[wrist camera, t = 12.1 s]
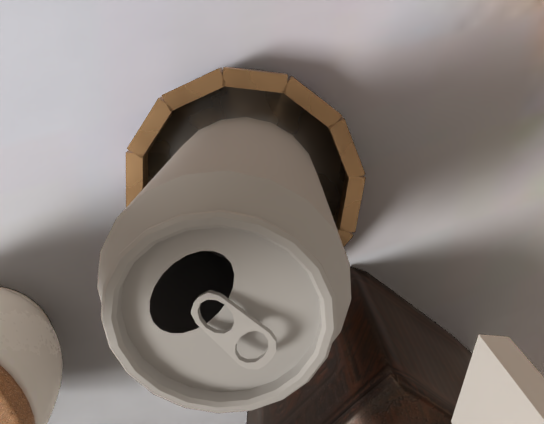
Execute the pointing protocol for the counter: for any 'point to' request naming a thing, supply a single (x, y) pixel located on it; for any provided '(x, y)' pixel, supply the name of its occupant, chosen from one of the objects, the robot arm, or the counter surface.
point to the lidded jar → (27, 361)
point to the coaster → (262, 106)
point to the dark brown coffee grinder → (379, 368)
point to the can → (226, 272)
